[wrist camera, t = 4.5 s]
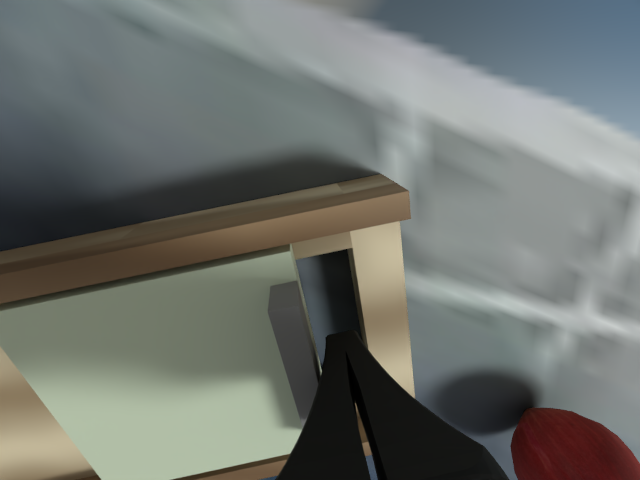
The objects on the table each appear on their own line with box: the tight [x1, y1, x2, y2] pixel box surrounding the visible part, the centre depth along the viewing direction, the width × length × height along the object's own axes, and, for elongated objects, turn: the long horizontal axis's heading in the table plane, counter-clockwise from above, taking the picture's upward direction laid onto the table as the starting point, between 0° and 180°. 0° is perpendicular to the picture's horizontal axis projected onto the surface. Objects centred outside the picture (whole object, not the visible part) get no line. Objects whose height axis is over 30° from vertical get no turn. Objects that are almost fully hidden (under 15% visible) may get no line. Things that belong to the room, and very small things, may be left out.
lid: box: [0, 244, 322, 480], centre depth 12 cm, size 10×11×3 cm
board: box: [0, 174, 415, 480], centre depth 14 cm, size 13×24×3 cm, turn 101°
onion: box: [511, 407, 640, 480], centre depth 16 cm, size 6×6×8 cm
